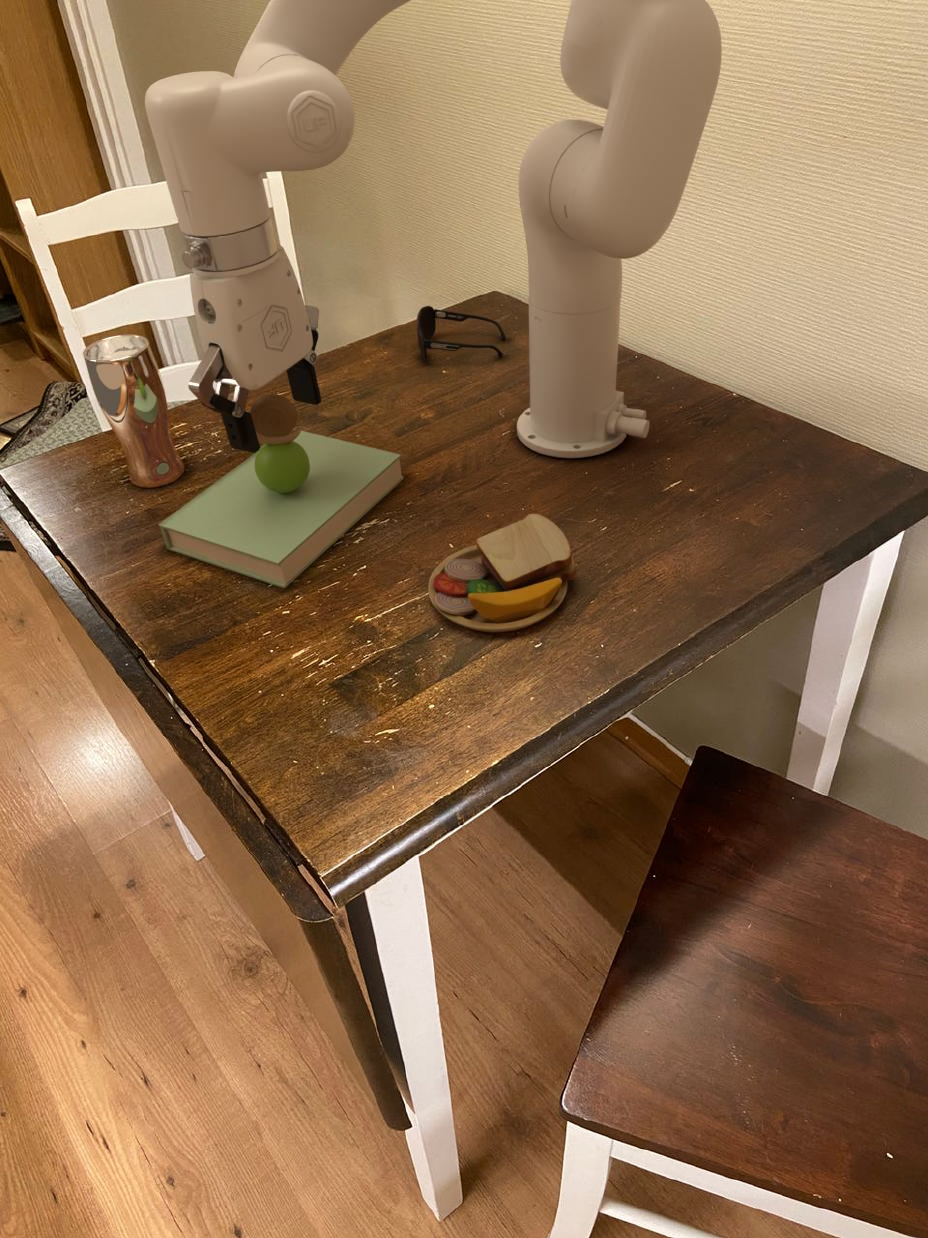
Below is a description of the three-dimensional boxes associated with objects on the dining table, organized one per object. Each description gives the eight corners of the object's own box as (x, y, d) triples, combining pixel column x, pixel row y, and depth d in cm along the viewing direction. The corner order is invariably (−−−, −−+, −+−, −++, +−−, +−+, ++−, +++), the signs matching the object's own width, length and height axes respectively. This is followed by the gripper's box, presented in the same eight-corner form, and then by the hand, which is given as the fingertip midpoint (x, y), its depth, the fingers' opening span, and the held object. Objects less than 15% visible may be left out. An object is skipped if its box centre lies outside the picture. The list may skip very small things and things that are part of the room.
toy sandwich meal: (415, 567, 84) (411, 526, 80) (551, 539, 86) (551, 498, 83) (447, 652, 74) (443, 609, 71) (598, 619, 76) (600, 575, 73)
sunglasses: (421, 333, 125) (422, 298, 122) (505, 342, 125) (508, 307, 121) (410, 365, 117) (412, 329, 114) (500, 375, 117) (504, 339, 113)
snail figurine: (253, 478, 92) (226, 370, 84) (315, 472, 92) (293, 363, 84) (248, 506, 88) (219, 396, 80) (312, 500, 88) (290, 389, 80)
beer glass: (172, 492, 97) (130, 362, 87) (115, 488, 98) (67, 360, 88) (198, 459, 102) (162, 333, 92) (144, 456, 103) (101, 332, 93)
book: (403, 478, 96) (400, 454, 94) (284, 588, 82) (278, 563, 80) (294, 450, 102) (289, 427, 100) (166, 549, 88) (158, 524, 86)
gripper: (195, 287, 68) (250, 477, 79) (326, 214, 78) (359, 390, 90) (126, 277, 71) (189, 461, 82) (261, 208, 81) (300, 379, 93)
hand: (277, 424), depth 86 cm, fingers open, 9 cm apart
